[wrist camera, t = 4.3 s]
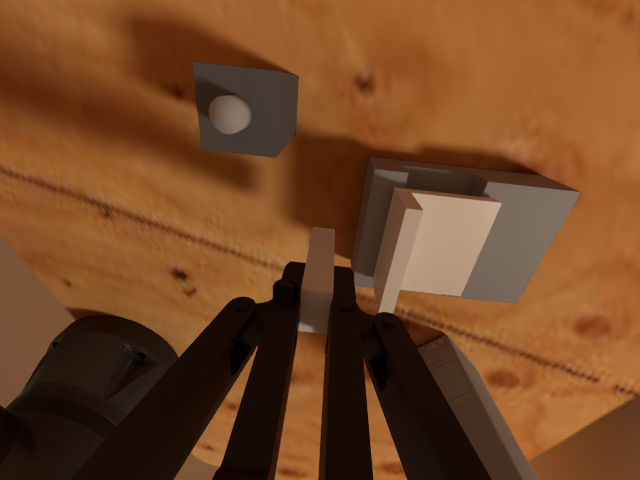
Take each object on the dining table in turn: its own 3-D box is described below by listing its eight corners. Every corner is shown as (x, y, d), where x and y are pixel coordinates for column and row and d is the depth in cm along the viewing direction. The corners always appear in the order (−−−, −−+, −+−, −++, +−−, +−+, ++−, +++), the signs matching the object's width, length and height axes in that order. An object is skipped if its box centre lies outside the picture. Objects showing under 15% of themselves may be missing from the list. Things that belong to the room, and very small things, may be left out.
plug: (245, 129, 22) (188, 155, 14) (243, 70, 20) (175, 58, 12) (295, 135, 22) (269, 164, 14) (298, 76, 20) (270, 68, 12)
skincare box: (397, 353, 33) (439, 544, 19) (453, 328, 31) (547, 526, 17) (431, 389, 36) (489, 578, 22) (485, 369, 34) (588, 567, 20)
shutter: (372, 280, 23) (378, 313, 20) (394, 187, 19) (406, 208, 16) (456, 289, 23) (477, 324, 20) (495, 198, 19) (529, 222, 16)
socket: (350, 260, 27) (352, 285, 24) (369, 156, 22) (374, 169, 19) (492, 276, 27) (515, 304, 24) (542, 175, 22) (580, 192, 19)
